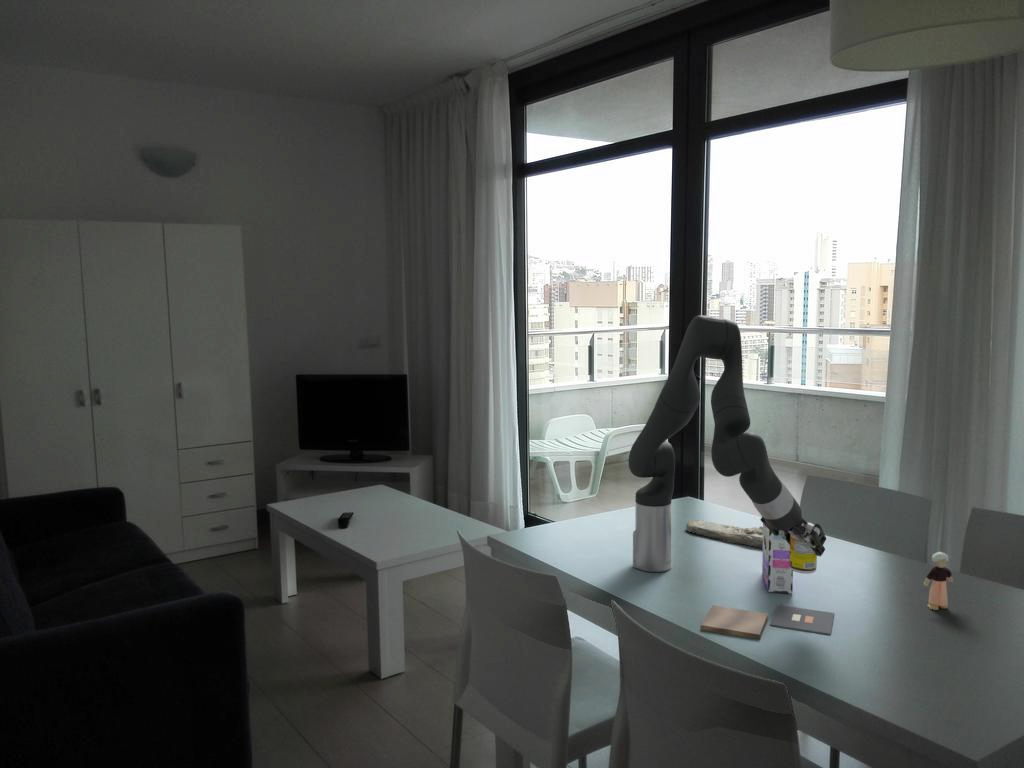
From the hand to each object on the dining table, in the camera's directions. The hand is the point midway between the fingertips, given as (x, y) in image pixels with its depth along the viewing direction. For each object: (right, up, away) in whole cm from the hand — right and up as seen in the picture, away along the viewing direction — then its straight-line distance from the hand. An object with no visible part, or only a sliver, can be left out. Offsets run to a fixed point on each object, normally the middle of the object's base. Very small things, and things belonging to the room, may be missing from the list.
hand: (808, 548), depth 171 cm
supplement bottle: (-1, -5, 0) cm, 5 cm away
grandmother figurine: (+32, -15, +7) cm, 36 cm away
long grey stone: (+2, -10, +58) cm, 59 cm away
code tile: (-1, -16, +1) cm, 16 cm away
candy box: (+1, -13, +23) cm, 27 cm away
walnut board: (-16, -16, -1) cm, 23 cm away
